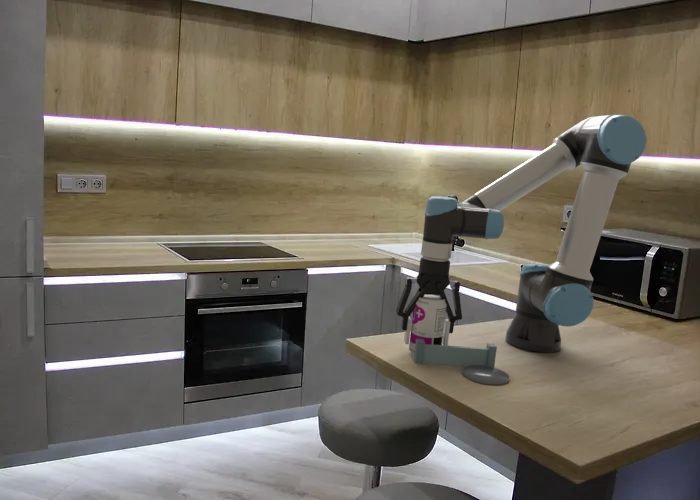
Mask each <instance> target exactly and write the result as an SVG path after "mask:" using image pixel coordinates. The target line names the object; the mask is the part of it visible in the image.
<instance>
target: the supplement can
mask: <svg viewBox="0 0 700 500" xmlns="http://www.w3.org/2000/svg"><path fill="white" fill-rule="evenodd" d="M446 306H447V305H446V302H445V299H444V300H442V299H441V298H440V296H439V295H433V294H431V295H426V294H425V295H424V297H423V298H420V297H419V299H418V301H417V302H416V307H415V309H414V310H413V312H412V317H411V328H410V337H409V344H408V350H409V351H410V353H411V354H412V355H414V352H415V343H416V339H423V340H424V342H425V344H431V345H443V344H442V341H443V333H444V324H445V319H446V315H447V313H446Z"/></svg>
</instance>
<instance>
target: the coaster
mask: <svg viewBox="0 0 700 500" xmlns="http://www.w3.org/2000/svg"><path fill="white" fill-rule="evenodd" d="M461 372H462V373H461V374H462V376H463V377H465V378H466V379H468V380H470V381H473V382H476V383H478V384H484V385H489V386H500V385H505V384H508V383H509V381H510V376H509V374H508V373H507V372H505V371H504V370H501V369H499V368H495V367H494V368H492V367H488V366H480V365H472V366H465V367H463V368H462V371H461Z"/></svg>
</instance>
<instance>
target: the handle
mask: <svg viewBox="0 0 700 500" xmlns="http://www.w3.org/2000/svg"><path fill="white" fill-rule="evenodd" d="M497 349H498V347H497V345H496V344H495V343H486V347H478V346H477V347H475V346H462V345H461V346H460V345H458V346H457V345H448V346H447V345H443V344H442V345H431V344H425V342H424V340H423V339H416V343H415V352H414V354H413V361H414V363H415V365H416V364H419V365H423V364H432V365H445V366H446V365H450V366H462V367H463V366H465V367H467V366H472V365H480V366H488V367H492V368H495V366H496V365H495V364H496V356H497Z"/></svg>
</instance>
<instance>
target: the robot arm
mask: <svg viewBox="0 0 700 500" xmlns="http://www.w3.org/2000/svg"><path fill="white" fill-rule="evenodd" d="M646 146H647V133H646V130H645V128H644V127H643V124H641V122H640V121H639V120H637V119H636V118H634V117H633V116H631V115H626V114H617V113H615V114H610V115H609V114H607V115H594V116H593V115H592V116H590V117H586V118H585V119H583V120H581V121H579V122H578V123H577V124H575V125H573V126H572V127H570V128H569V129H567V130H565V131H564V132H562V133H561V134H559V135H558V136H557V137H555V138H553V139H552V142H551V145H549V146H548V147H546V148H545V149H543V150H542V151H540V152H538V153H537V154H535V155H534V156H532V157H531V158H529V159H527V160H526V161H524V162H522V163H520V165H518V166H517V167H514V169H511V170H510V171H509V172H507V173H506V174H504V175H503V176H501V177H500V178H497V179H496V180H495V181H493V182H492V183H490V184H488V185H487V186H485V187H484V188H481V189H480V190H479V191H477V192H476V193H474V194H473V195H471V196H470V197H468V198H466V199H464V200H460V201H458V199H456V198H455V197H449V196H440V195H432V196H430V197H429V198H427V202H426V207H425V213H424V223H423V233H422V234H423V235H422V243H421V249H420V255H421V256H422V257H421V258H420V261H419V268H418V274H417V276H416V277H410V276H406V277H405V279H404V280H405V285H404V288H403V291H402V293H401V295H400V298H399V302H398V304H397V307H396V310H395V312H396V314H397V316H399V317H402V321H401V329H402V331H404V336H403V337H404V338H403V341H404V344H405V345H409V344H410V335H411V326H412V317H410V316H411V315H412V314H413V310H414V309H415V307H416V302H417V301H418V299H419V297H420V298H423V297H424V295H425V294H426V295H431V294H433V295H439V296H440V298H441V299H442V300H444V299H445V302H446V305H447V306H446V317H447V318H445V323H444V331H443V339H442V345H447V346H449V338H450V337H449V336H450V334H453V332H454V327H455V323H456V322H457V321H460V320H462V319H463V313H462V304H461V298H460V288H461V283H460V282H459V281H458V280H457V279H455V280H451V279H450V277H449V276H450V267H451V261H450V259H451V258H452V252H453V250H452V249H453V243H454V237H462V238H463V237H464V238H473V239H484V240H497V239H499V238H500V237H501V235H502V234H503V232H504V226H505V218H504V213H503V212H502V210H504V209H505V208H507V207H509V206H510V205H511V204H513V203H515V202H516V201H518V200H520V198H523V197H524V196H526V195H527V194H529V193H531V192H532V191H534V190H535V189H537V188H539V187H540V186H542V185H543V184H545V183H546V182H548V181H550V180H551V179H553V178H554V177H556V176H558V175H559V174H561V173H562V172H564V171H566V170H567V169H569V170H574V169H576V168H578V167H579V166H581V168H582V170H583V173H582V177H581V178H580V182H579V185H578V189H577V192H576V194H575V195H576V196H575V198H574V201H573V206H572V209H571V211H570V214H569V218H568V221H567V224H566V227H565V231H564V233H563V237H562V240H561V243H560V247H559V250H558V253H557V256H556V259H555V261H553V262H552V263H550V264H544V263H525V264H523V265H522V267H521V272H520V274H519V283H518V292H517V299H516V300H517V301H516V305H515V306H516V308H515V314H514V316H513V318H512V320H511V321H510V324H509V326H508V328H507V330H506V334H505V341H506V342H507V343H508V344H510V345H511V346H513V347H516V348H520V349H521V350H522V349H523V350H527V351H530V352H531V351H532V352H536V353H555V352H558V351H560V350H561V346H562V337H561V332H560V326H561V327H567V328H568V327H574V326H577V325H579V324H581V323H583V322H584V321H586V320H587V319H588V318H589V316H590V315H591V313H592V311H593V310H594V302H595V301H594V297H593V295H592V291H591V288H592V284H593V283H594V277H593V276H592V274H591V271H590V270H591V267H592V264H593V261H594V258H595V255H596V251H597V248H598V246H599V243H600V240H601V236H602V233H603V230H604V226H605V224H606V221H607V217H608V216H609V212H610V208H611V207H612V206H611V205H612V203H613V199H614V195H615V194H616V189H617V186H618V184H619V181H620V180H621V179H623V178H624V177H627V175H628V174H629V171H630V168H631V165H632V163H634V162H635V161H636V160H639V159H640V157H641V156H642V155H643V153H644V152H645V150H646ZM416 283H417V285H418V286H419V287H418V288H417V290H416V292H415V294H414V296H413V298H411V300H410V302H409V303H408V305H407V302H408V300H409V298H410V297H409V296H410V294H411V291H412V287H414V286H415V284H416ZM448 286H450V289H451V292H452V301H453V307H454V309H453V310H454V313H453V311H452V308H451V306H450V303H449V300H448V298H447V295H446V293H445V290H446V289H447V288H448ZM406 305H407V306H406Z"/></svg>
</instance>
